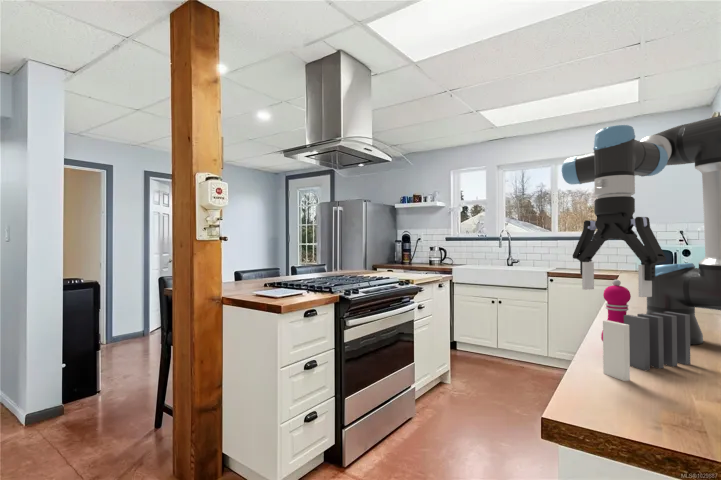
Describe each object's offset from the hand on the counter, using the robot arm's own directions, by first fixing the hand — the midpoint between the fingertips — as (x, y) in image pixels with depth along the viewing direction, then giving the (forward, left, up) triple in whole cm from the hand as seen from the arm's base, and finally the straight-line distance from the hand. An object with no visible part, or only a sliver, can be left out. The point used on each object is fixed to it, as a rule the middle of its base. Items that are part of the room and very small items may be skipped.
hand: (614, 292), depth 85 cm
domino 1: (-12, -2, -19) cm, 22 cm away
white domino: (0, 0, -19) cm, 19 cm away
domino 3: (-21, -1, -19) cm, 28 cm away
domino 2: (-16, -2, -19) cm, 25 cm away
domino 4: (-25, 0, -19) cm, 31 cm away
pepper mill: (-17, -10, -19) cm, 27 cm away
